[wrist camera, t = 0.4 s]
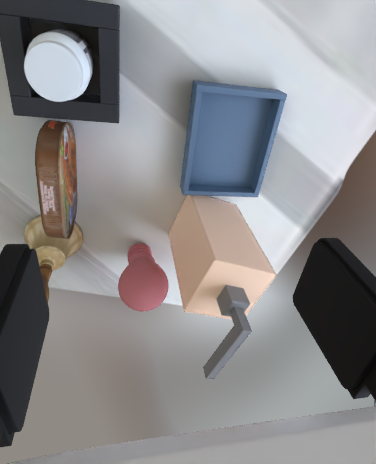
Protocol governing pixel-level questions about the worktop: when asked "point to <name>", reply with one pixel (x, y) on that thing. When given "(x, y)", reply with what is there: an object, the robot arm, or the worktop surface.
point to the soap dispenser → (218, 268)
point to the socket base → (20, 36)
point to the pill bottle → (59, 65)
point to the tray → (229, 138)
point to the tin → (57, 178)
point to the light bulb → (142, 280)
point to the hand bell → (51, 248)
